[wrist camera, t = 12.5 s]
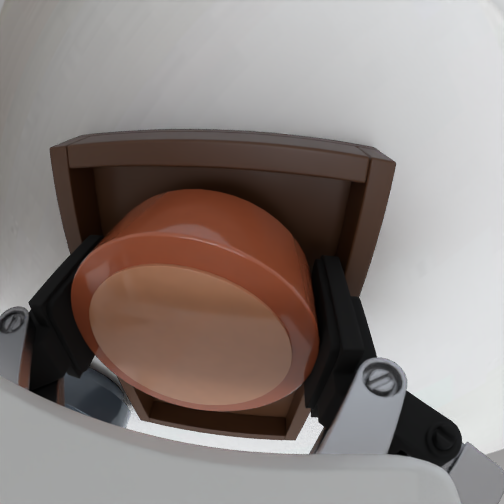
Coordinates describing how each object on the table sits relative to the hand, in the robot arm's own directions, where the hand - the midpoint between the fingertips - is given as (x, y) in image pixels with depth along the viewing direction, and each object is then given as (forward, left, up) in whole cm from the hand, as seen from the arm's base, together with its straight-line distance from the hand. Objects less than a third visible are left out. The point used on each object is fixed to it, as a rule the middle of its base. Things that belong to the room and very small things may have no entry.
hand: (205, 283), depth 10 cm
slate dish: (-10, -13, -2) cm, 16 cm away
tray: (0, -4, -2) cm, 4 cm away
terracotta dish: (0, 0, -1) cm, 1 cm away
